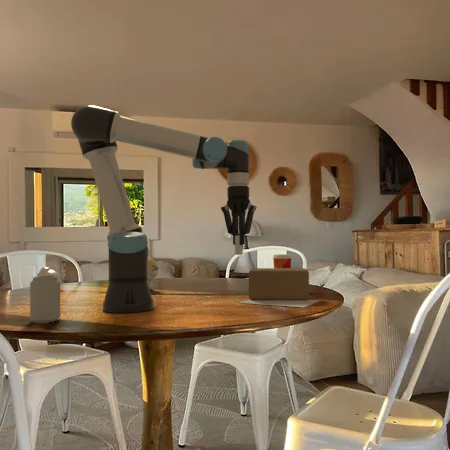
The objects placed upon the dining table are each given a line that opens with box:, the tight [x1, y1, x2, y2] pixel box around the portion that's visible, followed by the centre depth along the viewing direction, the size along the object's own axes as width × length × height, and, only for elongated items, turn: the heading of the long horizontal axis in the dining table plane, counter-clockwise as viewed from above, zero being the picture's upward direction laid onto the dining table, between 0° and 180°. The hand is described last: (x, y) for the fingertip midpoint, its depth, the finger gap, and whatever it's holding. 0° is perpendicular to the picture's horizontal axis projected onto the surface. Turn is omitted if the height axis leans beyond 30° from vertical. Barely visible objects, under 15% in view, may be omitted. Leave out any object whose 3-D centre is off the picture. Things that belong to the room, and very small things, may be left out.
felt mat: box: [239, 298, 321, 309], centre depth 155 cm, size 16×22×1 cm
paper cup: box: [272, 253, 293, 268], centre depth 188 cm, size 8×8×14 cm
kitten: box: [147, 256, 160, 292], centre depth 189 cm, size 15×10×15 cm
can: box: [29, 276, 61, 324], centre depth 126 cm, size 8×8×12 cm
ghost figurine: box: [36, 266, 62, 284], centre depth 190 cm, size 9×10×10 cm
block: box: [248, 267, 310, 300], centre depth 162 cm, size 10×10×20 cm
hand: (239, 254), depth 163 cm, fingers closed
